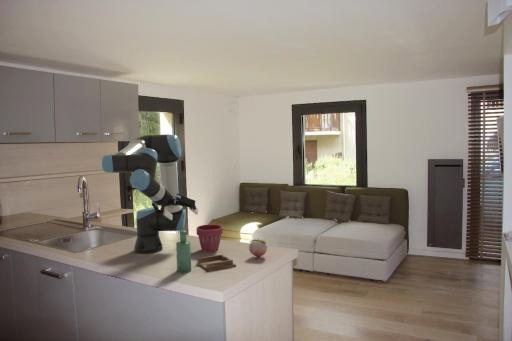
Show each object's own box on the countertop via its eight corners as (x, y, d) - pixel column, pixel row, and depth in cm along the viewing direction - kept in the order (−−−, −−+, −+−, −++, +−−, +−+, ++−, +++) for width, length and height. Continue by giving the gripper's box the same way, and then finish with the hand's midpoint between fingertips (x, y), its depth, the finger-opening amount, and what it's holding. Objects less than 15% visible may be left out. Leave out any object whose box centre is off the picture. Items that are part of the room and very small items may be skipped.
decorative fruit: (269, 255, 208) (269, 236, 208) (265, 260, 200) (265, 240, 200) (251, 254, 211) (251, 235, 210) (247, 258, 203) (247, 239, 202)
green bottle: (175, 270, 186) (174, 230, 185) (188, 267, 189) (187, 229, 188) (179, 273, 180) (178, 233, 179) (193, 271, 184) (192, 231, 183)
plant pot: (210, 254, 212) (209, 230, 211) (191, 250, 220) (191, 227, 219) (228, 249, 223) (227, 226, 222) (209, 245, 231) (209, 223, 231)
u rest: (196, 263, 195) (196, 257, 195) (223, 259, 202) (223, 253, 202) (208, 271, 183) (208, 265, 183) (235, 266, 190) (235, 260, 190)
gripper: (132, 207, 173) (160, 227, 190) (183, 195, 166) (207, 216, 182) (135, 192, 177) (162, 212, 194) (184, 180, 170) (208, 202, 186)
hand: (184, 214), depth 188 cm, fingers open, 13 cm apart
